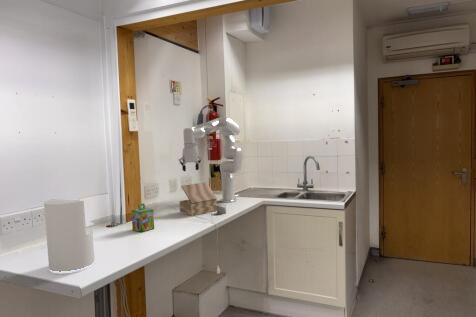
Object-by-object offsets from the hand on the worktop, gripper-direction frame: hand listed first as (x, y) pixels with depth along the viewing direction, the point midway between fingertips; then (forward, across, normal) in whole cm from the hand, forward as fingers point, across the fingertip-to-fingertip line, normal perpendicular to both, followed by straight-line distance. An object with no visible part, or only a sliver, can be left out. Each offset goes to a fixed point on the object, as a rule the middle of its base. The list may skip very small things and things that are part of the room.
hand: (190, 170), depth 243 cm
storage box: (+28, -2, +5) cm, 29 cm away
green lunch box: (+28, +43, +25) cm, 58 cm away
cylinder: (+28, +86, +62) cm, 109 cm away
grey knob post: (+28, -11, +20) cm, 37 cm away
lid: (+15, -2, +7) cm, 17 cm away
